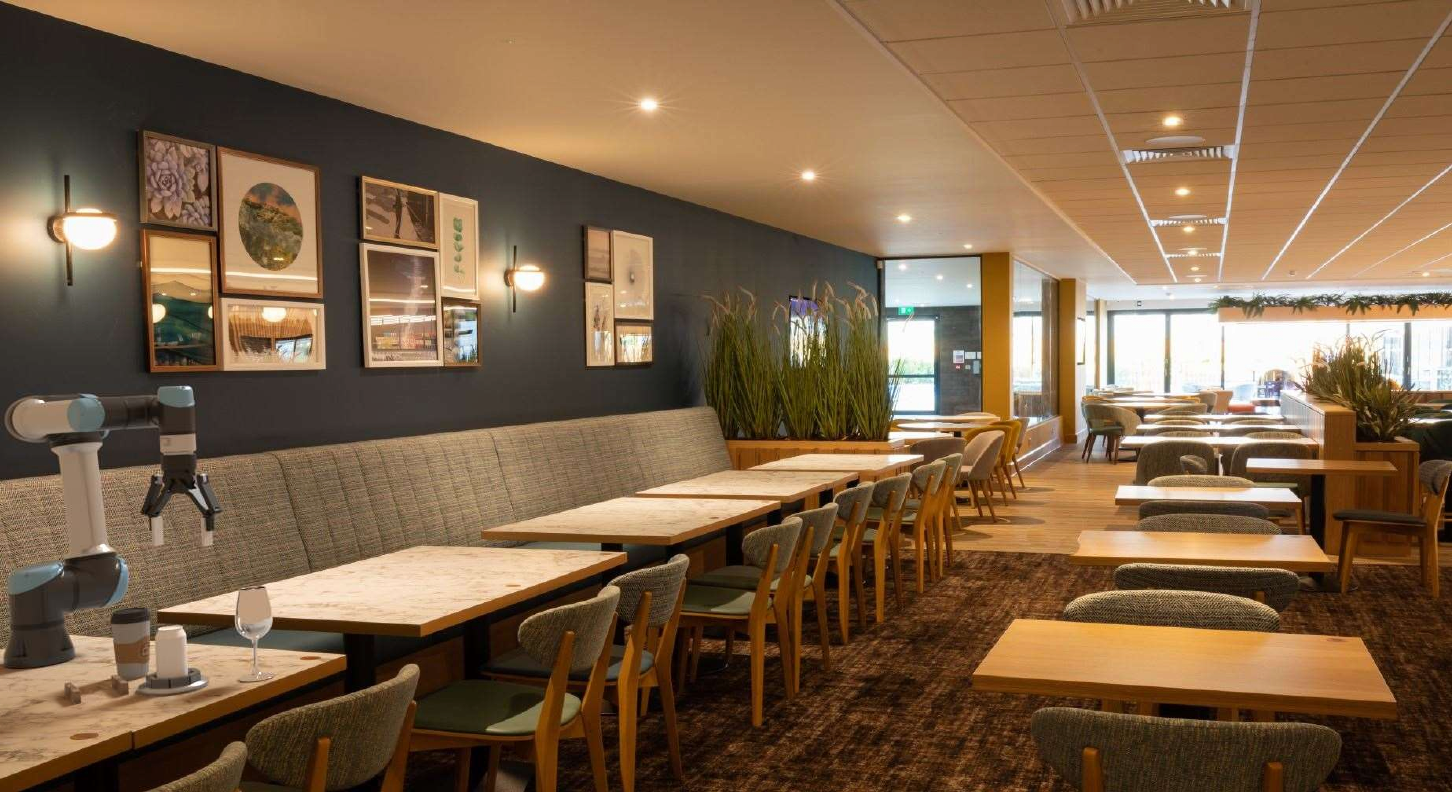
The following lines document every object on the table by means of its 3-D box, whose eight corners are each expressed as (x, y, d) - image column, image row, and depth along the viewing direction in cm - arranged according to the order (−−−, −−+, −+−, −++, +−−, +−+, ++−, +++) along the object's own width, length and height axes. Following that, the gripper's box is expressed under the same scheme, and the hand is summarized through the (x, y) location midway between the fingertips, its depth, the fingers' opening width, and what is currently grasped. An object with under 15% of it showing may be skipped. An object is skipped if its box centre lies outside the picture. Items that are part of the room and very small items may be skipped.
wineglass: (266, 671, 278) (262, 583, 278) (281, 676, 273) (277, 587, 272) (231, 678, 273) (227, 588, 273) (246, 684, 267) (242, 592, 267)
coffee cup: (137, 681, 273) (134, 614, 273) (104, 680, 275) (101, 614, 275) (161, 672, 282) (158, 606, 281) (129, 671, 283) (126, 606, 283)
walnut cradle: (64, 695, 263) (64, 683, 263) (117, 685, 270) (117, 674, 270) (74, 704, 256) (74, 692, 256) (128, 694, 262) (128, 682, 262)
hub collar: (131, 687, 268) (130, 673, 268) (198, 675, 277) (197, 662, 277) (147, 699, 257) (146, 685, 257) (217, 686, 266) (216, 673, 266)
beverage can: (168, 687, 263) (166, 631, 262) (150, 684, 266) (148, 629, 266) (194, 680, 268) (191, 626, 268) (176, 677, 271) (174, 623, 271)
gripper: (121, 455, 282) (125, 547, 282) (212, 453, 275) (217, 548, 275) (145, 452, 289) (149, 542, 289) (235, 451, 282) (239, 543, 282)
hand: (182, 545), depth 282 cm, fingers open, 13 cm apart
